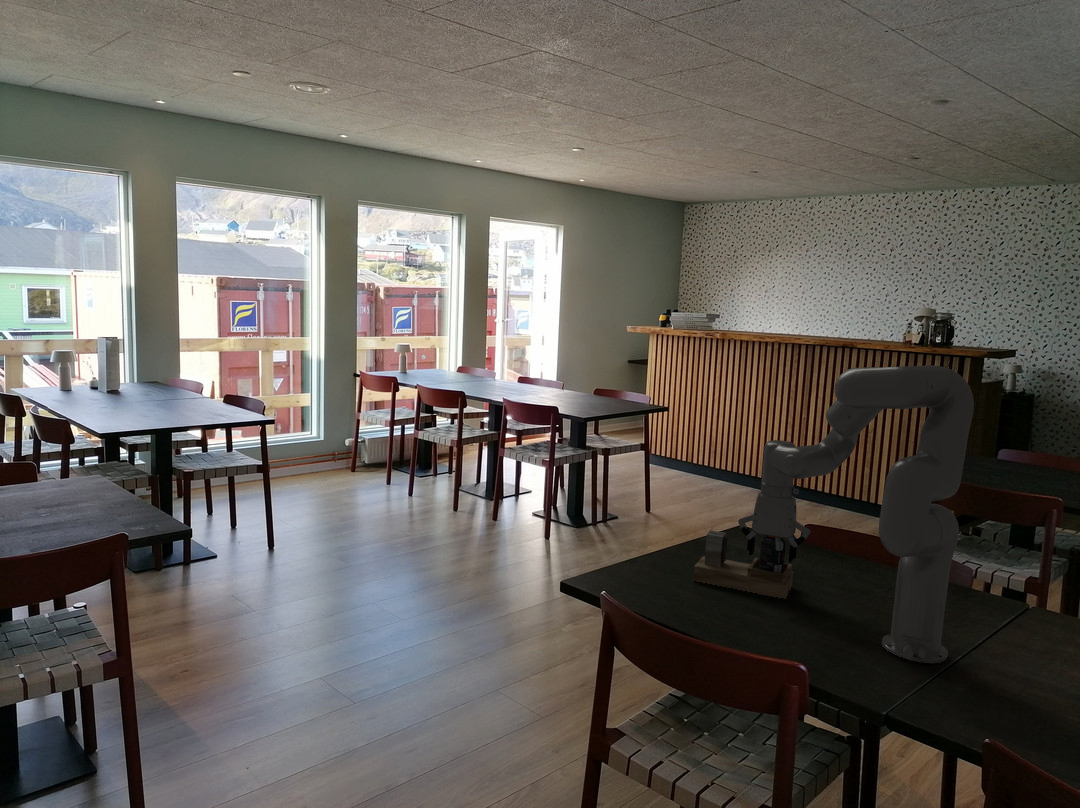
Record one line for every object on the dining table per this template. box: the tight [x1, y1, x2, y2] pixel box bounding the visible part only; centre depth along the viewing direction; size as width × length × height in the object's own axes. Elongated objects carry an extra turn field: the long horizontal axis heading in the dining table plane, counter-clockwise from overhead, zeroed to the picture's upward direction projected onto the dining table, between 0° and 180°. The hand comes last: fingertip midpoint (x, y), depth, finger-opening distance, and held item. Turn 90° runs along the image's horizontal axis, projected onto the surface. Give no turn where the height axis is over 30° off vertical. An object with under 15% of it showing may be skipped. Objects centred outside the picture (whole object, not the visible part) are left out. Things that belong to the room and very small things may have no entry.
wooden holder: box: [692, 529, 794, 600], centre depth 199 cm, size 10×23×12 cm, turn 64°
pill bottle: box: [759, 535, 786, 574], centre depth 195 cm, size 6×6×11 cm
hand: (771, 557), depth 196 cm, fingers open, 9 cm apart
